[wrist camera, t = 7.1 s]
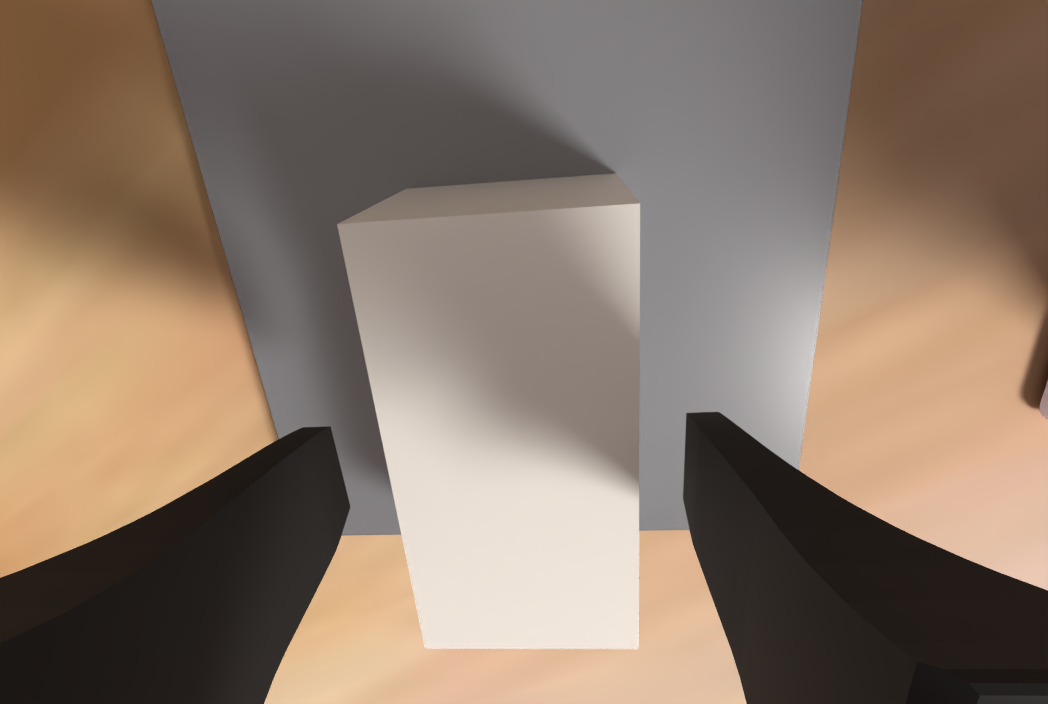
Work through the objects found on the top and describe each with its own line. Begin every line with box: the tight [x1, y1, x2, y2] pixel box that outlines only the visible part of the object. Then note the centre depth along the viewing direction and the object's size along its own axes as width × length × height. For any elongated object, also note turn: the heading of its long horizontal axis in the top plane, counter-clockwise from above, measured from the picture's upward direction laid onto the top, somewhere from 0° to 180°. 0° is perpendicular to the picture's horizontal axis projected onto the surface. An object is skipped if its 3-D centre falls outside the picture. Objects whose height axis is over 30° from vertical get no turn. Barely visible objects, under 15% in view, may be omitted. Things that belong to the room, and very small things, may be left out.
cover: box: [337, 173, 640, 649], centre depth 13 cm, size 5×10×4 cm, turn 4°
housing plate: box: [151, 0, 863, 535], centre depth 13 cm, size 15×24×2 cm, turn 4°
